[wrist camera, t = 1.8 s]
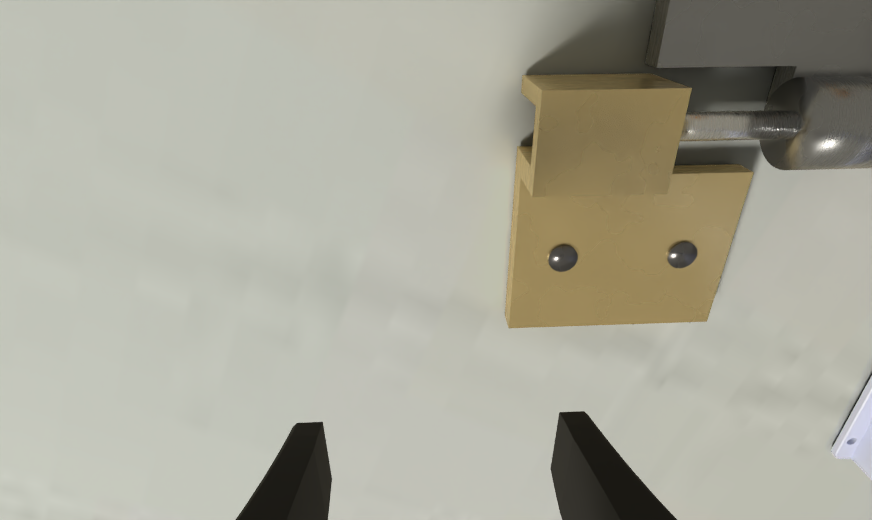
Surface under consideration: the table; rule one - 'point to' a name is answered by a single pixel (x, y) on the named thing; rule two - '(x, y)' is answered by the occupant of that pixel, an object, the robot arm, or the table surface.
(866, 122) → the fixed leaf
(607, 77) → the tan hinge plate
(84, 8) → the table surface
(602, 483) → the robot arm
